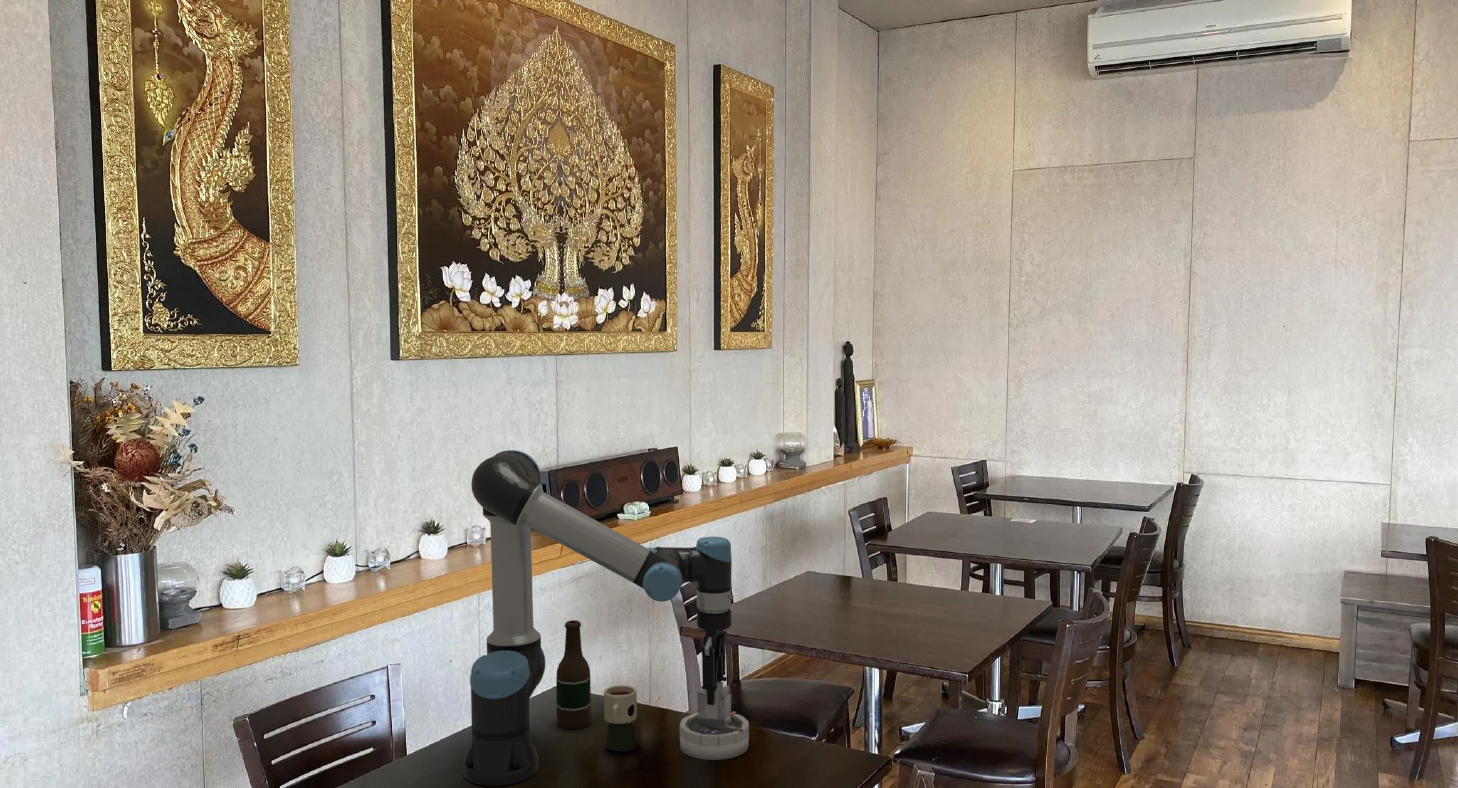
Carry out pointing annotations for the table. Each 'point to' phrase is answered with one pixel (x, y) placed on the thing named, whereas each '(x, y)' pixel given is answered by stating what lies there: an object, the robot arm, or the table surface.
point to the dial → (714, 725)
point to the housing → (714, 740)
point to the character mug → (620, 716)
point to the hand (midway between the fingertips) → (714, 714)
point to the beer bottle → (573, 682)
